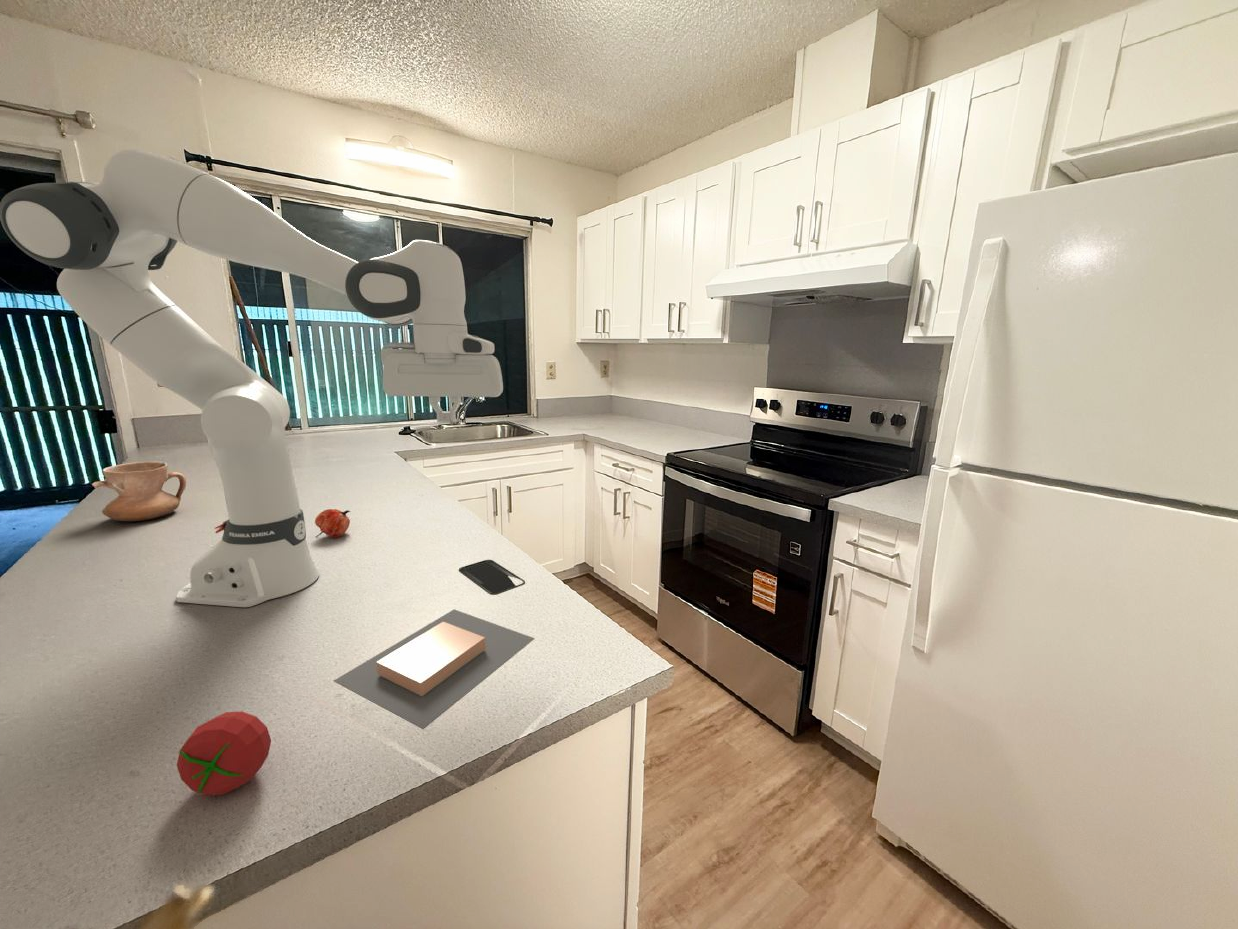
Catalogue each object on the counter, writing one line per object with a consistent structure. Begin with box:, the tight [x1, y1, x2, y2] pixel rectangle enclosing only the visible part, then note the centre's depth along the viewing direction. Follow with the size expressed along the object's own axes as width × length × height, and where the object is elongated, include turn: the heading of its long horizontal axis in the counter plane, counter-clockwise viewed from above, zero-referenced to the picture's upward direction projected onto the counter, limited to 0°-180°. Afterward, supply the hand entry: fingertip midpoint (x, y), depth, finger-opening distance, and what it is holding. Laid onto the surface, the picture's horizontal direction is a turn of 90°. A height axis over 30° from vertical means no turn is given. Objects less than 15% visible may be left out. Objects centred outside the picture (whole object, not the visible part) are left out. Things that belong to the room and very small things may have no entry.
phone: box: [458, 559, 526, 596], centre depth 99 cm, size 8×1×15 cm
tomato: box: [176, 711, 272, 797], centre depth 51 cm, size 8×8×8 cm
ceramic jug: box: [91, 461, 187, 522], centre depth 130 cm, size 18×14×14 cm
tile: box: [376, 622, 486, 696], centre depth 71 cm, size 2×9×12 cm
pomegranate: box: [314, 508, 351, 539], centre depth 119 cm, size 7×7×10 cm
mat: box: [333, 609, 535, 730], centre depth 73 cm, size 22×18×1 cm
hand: (446, 421), depth 87 cm, fingers closed
